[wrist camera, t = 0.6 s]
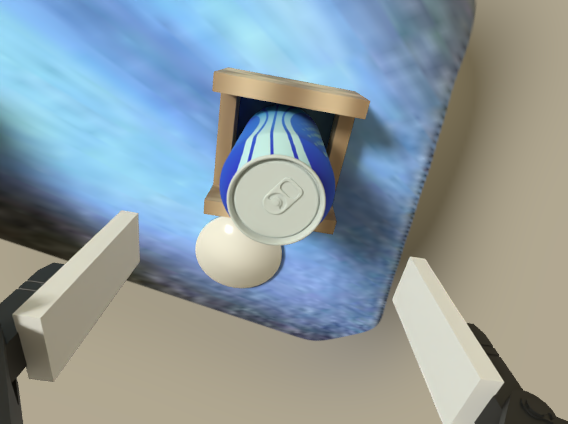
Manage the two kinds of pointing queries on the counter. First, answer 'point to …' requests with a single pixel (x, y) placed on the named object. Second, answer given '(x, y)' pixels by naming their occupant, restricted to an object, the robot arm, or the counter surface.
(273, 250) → the trivet
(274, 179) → the beer can
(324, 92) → the oak holder
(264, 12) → the counter surface
